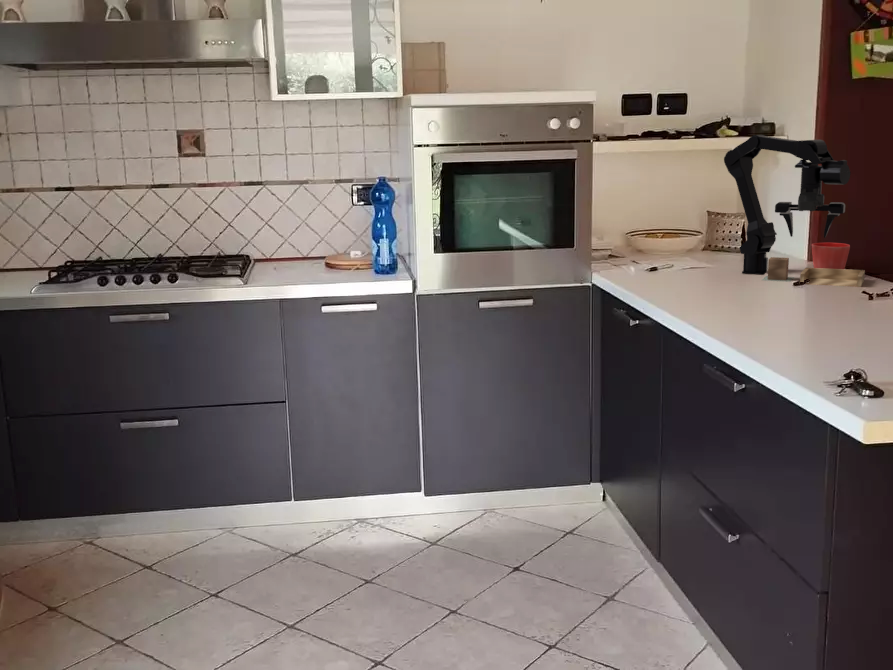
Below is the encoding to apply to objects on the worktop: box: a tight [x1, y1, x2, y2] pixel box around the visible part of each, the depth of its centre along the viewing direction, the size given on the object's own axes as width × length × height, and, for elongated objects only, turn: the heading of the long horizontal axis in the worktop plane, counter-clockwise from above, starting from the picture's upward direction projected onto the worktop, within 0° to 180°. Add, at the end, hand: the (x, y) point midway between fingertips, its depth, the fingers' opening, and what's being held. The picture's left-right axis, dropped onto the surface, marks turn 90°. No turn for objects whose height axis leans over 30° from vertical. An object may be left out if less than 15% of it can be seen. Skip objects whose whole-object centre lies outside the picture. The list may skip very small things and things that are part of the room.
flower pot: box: [811, 242, 851, 269], centre depth 272 cm, size 11×11×10 cm
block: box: [767, 256, 790, 280], centre depth 267 cm, size 5×5×6 cm
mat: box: [761, 275, 795, 283], centre depth 268 cm, size 8×8×1 cm
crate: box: [799, 267, 866, 288], centre depth 260 cm, size 16×12×4 cm
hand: (808, 237), depth 267 cm, fingers open, 9 cm apart
